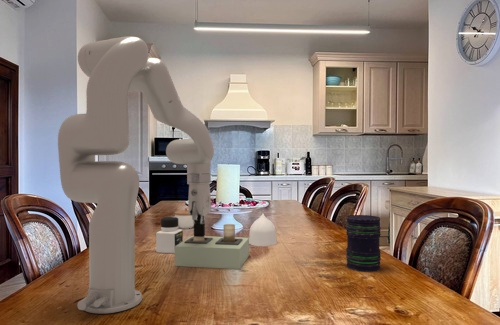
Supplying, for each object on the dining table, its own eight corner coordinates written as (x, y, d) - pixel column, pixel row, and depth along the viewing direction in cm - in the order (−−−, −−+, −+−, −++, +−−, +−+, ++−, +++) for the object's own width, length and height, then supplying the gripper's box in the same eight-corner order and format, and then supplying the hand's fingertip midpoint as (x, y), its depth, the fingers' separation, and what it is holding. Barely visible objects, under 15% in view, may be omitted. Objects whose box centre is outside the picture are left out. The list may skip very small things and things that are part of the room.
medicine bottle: (175, 253, 126) (175, 218, 126) (155, 252, 127) (155, 218, 127) (183, 248, 133) (182, 215, 133) (164, 248, 134) (164, 215, 134)
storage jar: (357, 273, 103) (357, 220, 103) (339, 264, 112) (339, 215, 112) (388, 270, 106) (387, 219, 106) (368, 261, 115) (368, 214, 115)
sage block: (239, 269, 107) (239, 247, 107) (175, 266, 111) (175, 244, 111) (249, 255, 123) (249, 236, 123) (192, 253, 126) (192, 234, 126)
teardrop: (266, 239, 150) (266, 209, 150) (282, 244, 141) (282, 212, 141) (243, 242, 144) (243, 211, 144) (259, 247, 135) (259, 215, 135)
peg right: (233, 246, 114) (233, 226, 114) (222, 246, 114) (222, 225, 114) (235, 244, 117) (235, 224, 117) (225, 243, 118) (225, 223, 118)
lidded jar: (201, 227, 178) (201, 207, 178) (186, 230, 168) (186, 210, 168) (185, 225, 183) (185, 206, 183) (169, 228, 174) (169, 208, 174)
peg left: (202, 258, 116) (202, 237, 116) (191, 257, 116) (191, 237, 116) (206, 255, 119) (205, 235, 119) (195, 254, 120) (195, 234, 120)
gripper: (203, 180, 110) (203, 241, 110) (216, 178, 124) (216, 231, 125) (179, 180, 111) (180, 240, 111) (195, 178, 126) (195, 231, 126)
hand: (199, 235), depth 118 cm, fingers closed
